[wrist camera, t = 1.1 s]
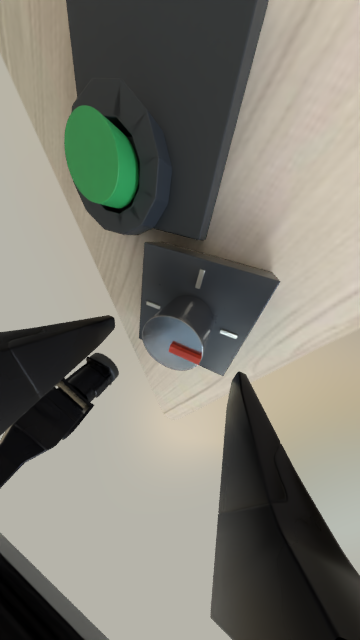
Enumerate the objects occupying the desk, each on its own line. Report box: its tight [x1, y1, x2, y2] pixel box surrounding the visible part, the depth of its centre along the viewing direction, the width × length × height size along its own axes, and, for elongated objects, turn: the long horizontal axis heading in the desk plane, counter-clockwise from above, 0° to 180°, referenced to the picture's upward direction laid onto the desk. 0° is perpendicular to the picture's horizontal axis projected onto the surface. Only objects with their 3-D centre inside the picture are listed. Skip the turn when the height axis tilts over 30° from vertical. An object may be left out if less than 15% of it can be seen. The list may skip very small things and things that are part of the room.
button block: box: [66, 0, 268, 240], centre depth 9 cm, size 10×11×4 cm
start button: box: [64, 105, 139, 208], centre depth 8 cm, size 4×4×2 cm
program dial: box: [142, 295, 214, 370], centre depth 11 cm, size 4×4×4 cm
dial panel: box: [139, 242, 280, 376], centre depth 14 cm, size 10×10×3 cm
